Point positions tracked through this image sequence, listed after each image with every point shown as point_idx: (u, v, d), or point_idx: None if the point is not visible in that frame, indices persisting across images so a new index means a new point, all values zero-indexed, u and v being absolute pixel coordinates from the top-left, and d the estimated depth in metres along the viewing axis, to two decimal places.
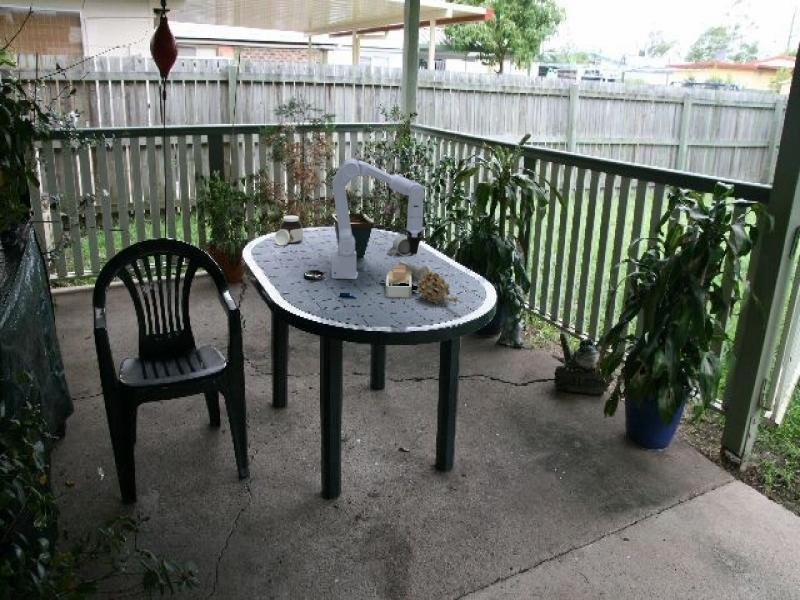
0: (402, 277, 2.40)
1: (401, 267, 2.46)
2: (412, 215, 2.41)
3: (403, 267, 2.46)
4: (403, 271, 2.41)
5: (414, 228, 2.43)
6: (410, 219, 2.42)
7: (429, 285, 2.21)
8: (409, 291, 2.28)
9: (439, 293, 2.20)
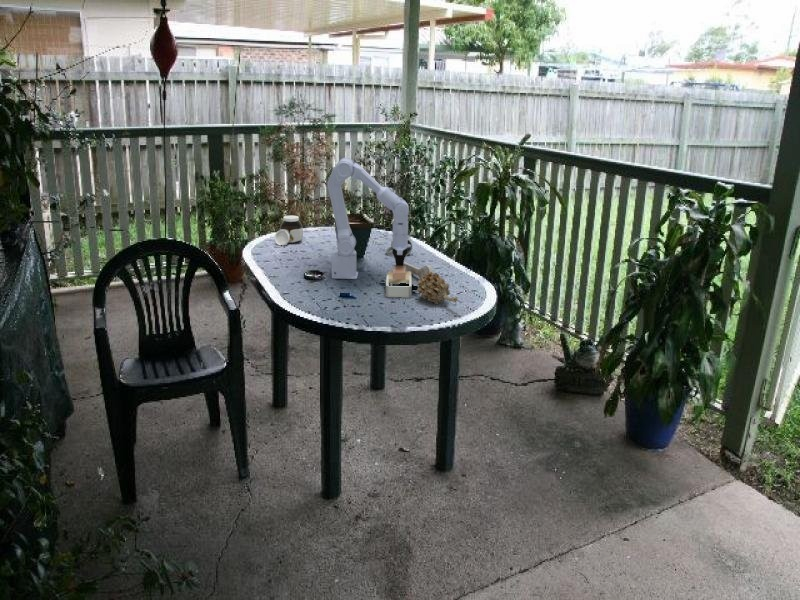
0: (402, 277, 2.40)
1: (401, 268, 2.45)
2: (397, 232, 2.42)
3: (403, 268, 2.45)
4: (403, 271, 2.40)
5: (399, 245, 2.43)
6: (395, 237, 2.43)
7: (429, 285, 2.21)
8: (409, 291, 2.28)
9: (439, 293, 2.20)
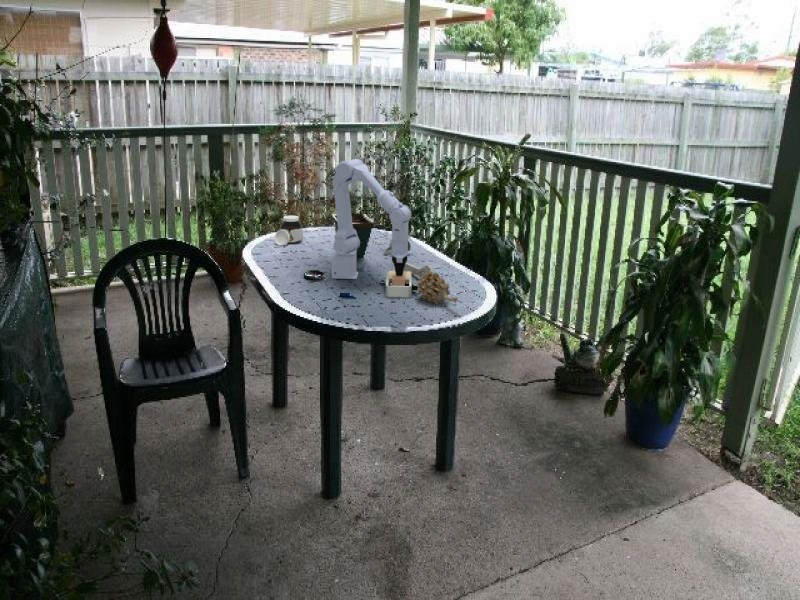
0: None
1: None
2: (393, 239, 2.33)
3: None
4: None
5: (399, 253, 2.34)
6: (395, 243, 2.33)
7: (429, 285, 2.21)
8: (409, 291, 2.28)
9: (439, 293, 2.20)
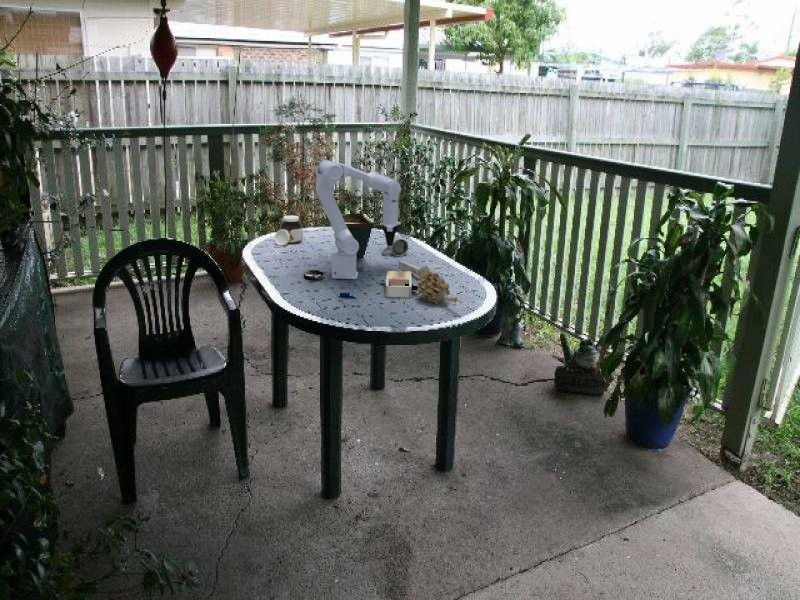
0: None
1: None
2: (390, 210, 2.47)
3: None
4: None
5: (389, 222, 2.48)
6: (385, 214, 2.48)
7: (429, 285, 2.21)
8: (409, 291, 2.28)
9: (439, 293, 2.20)
